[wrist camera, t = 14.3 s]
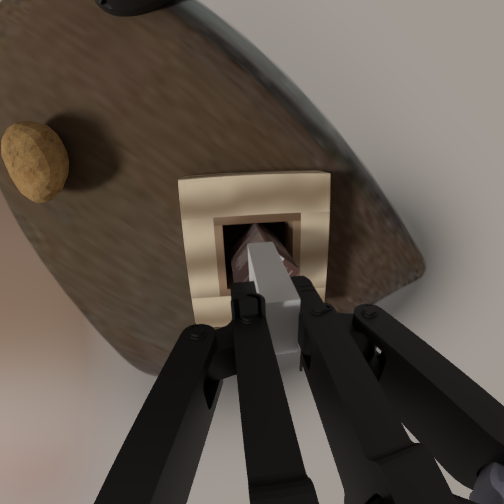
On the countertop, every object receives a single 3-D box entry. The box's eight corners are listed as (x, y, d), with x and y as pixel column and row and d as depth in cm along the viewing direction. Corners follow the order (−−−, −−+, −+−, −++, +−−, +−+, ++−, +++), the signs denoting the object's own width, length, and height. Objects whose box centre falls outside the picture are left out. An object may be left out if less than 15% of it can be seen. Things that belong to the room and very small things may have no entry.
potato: (44, 104, 29) (13, 100, 22) (94, 161, 34) (67, 166, 26) (12, 154, 31) (-19, 159, 23) (59, 211, 35) (30, 225, 28)
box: (253, 268, 41) (264, 312, 30) (228, 250, 40) (231, 290, 29) (280, 236, 40) (302, 271, 29) (255, 217, 39) (269, 245, 28)
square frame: (183, 176, 36) (177, 180, 31) (317, 170, 37) (330, 173, 33) (198, 309, 43) (196, 327, 38) (313, 299, 44) (322, 316, 40)
